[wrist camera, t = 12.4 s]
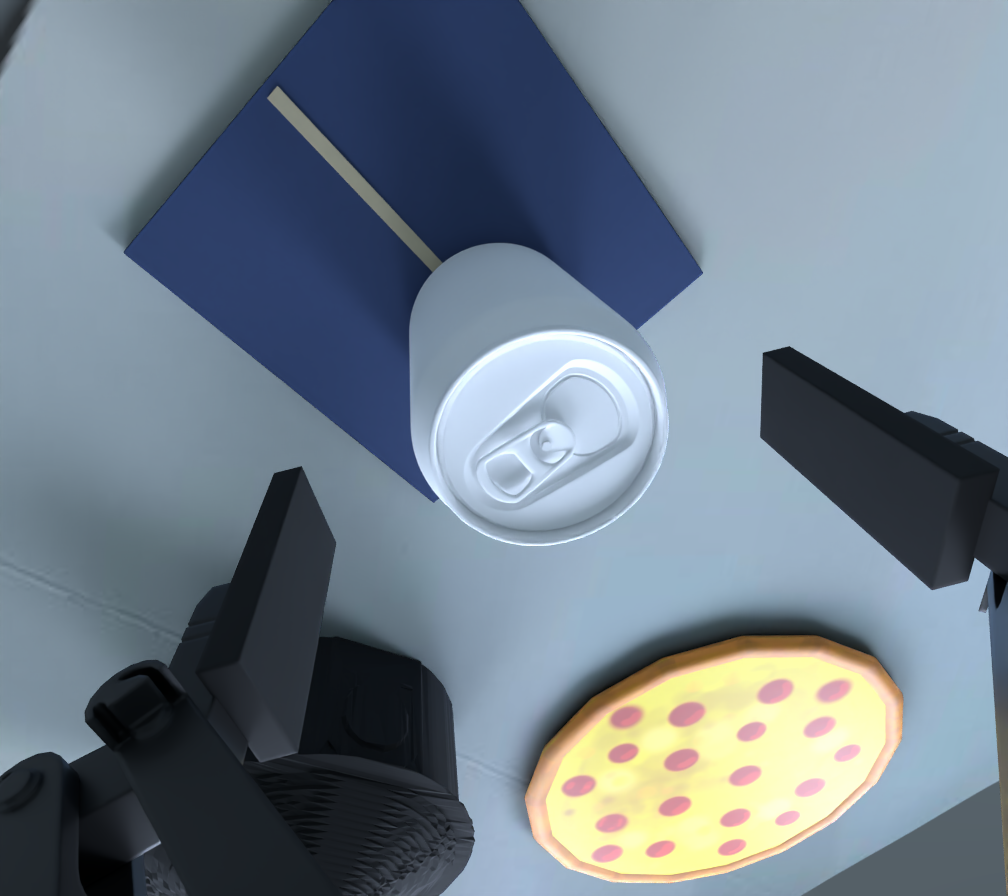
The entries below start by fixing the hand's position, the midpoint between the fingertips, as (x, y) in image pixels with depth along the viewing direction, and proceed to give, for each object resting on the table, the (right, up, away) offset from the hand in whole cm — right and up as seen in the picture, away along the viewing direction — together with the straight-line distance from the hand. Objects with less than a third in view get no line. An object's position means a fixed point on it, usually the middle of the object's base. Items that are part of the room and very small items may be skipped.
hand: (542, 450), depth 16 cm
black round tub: (-13, -19, +23) cm, 33 cm away
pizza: (+16, -27, +32) cm, 45 cm away
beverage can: (-2, +6, +11) cm, 13 cm away
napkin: (-4, +8, +10) cm, 13 cm away
